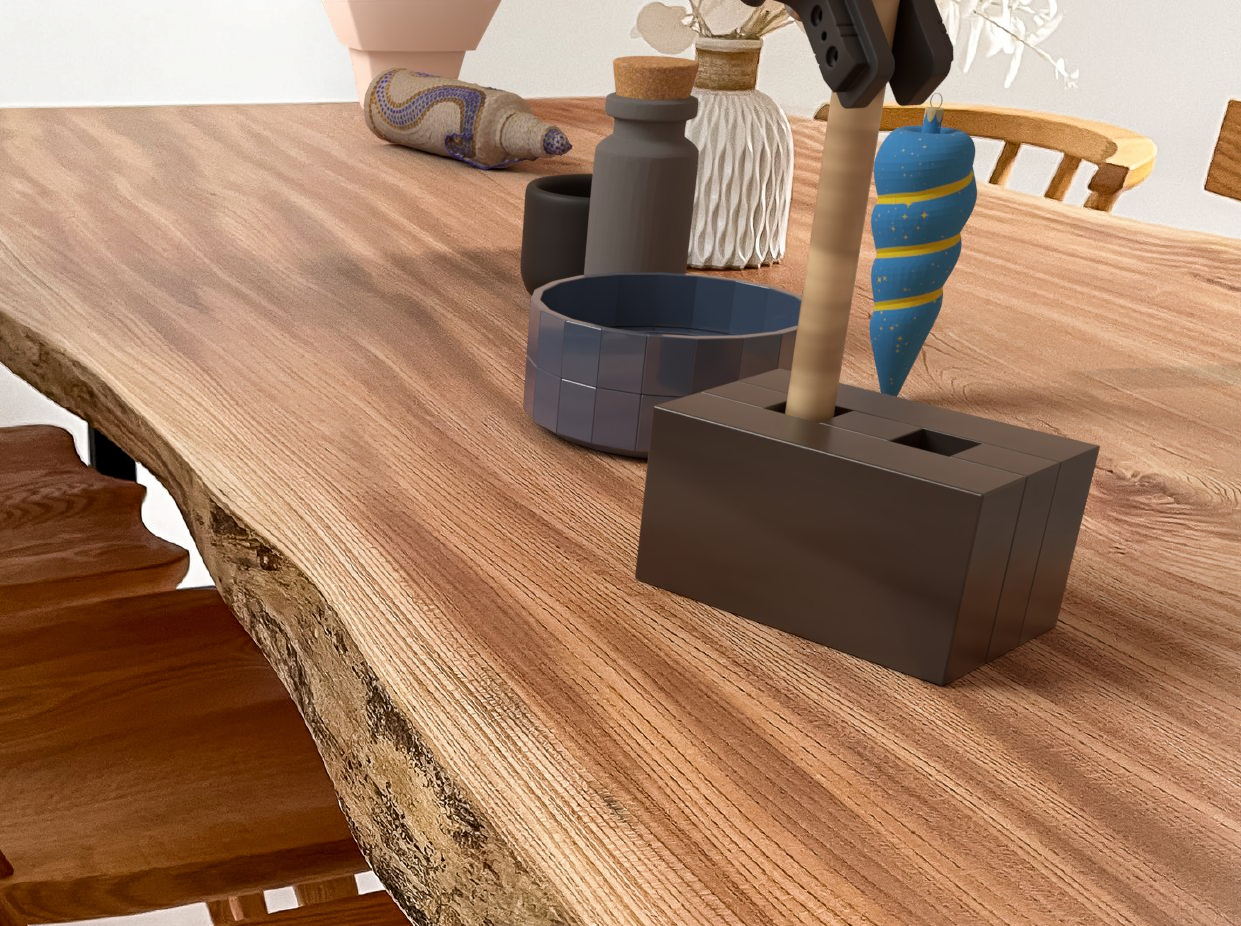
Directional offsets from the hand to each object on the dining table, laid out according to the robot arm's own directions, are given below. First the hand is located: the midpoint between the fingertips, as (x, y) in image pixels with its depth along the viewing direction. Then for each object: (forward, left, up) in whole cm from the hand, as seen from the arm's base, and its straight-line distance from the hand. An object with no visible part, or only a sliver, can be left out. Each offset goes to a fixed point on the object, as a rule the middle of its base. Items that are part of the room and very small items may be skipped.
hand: (899, 89), depth 59 cm
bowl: (-82, -104, -19) cm, 134 cm away
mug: (-31, -37, -19) cm, 52 cm away
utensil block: (-1, +1, -18) cm, 18 cm away
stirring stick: (-1, -2, -15) cm, 15 cm away
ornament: (-28, -14, -19) cm, 36 cm away
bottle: (-27, -31, -19) cm, 45 cm away
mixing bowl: (-15, -19, -18) cm, 30 cm away
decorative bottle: (-67, -82, -19) cm, 107 cm away
